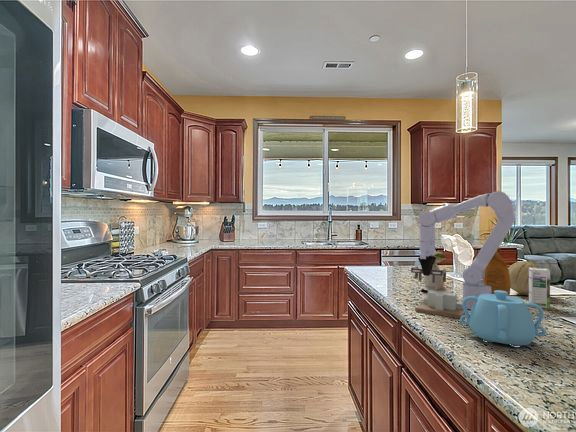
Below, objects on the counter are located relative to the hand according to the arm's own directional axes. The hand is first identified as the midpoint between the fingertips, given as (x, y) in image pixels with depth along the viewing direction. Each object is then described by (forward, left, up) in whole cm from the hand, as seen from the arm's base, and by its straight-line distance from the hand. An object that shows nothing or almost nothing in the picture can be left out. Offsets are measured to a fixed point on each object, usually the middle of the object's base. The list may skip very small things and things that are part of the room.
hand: (427, 275), depth 132 cm
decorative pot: (-26, +31, -11) cm, 42 cm away
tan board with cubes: (-7, +12, -10) cm, 17 cm away
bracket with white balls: (0, -2, -3) cm, 3 cm away
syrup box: (-36, -18, -11) cm, 42 cm away
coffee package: (-22, -17, -11) cm, 30 cm away
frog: (+1, -19, -11) cm, 22 cm away
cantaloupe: (-32, -37, -11) cm, 50 cm away
